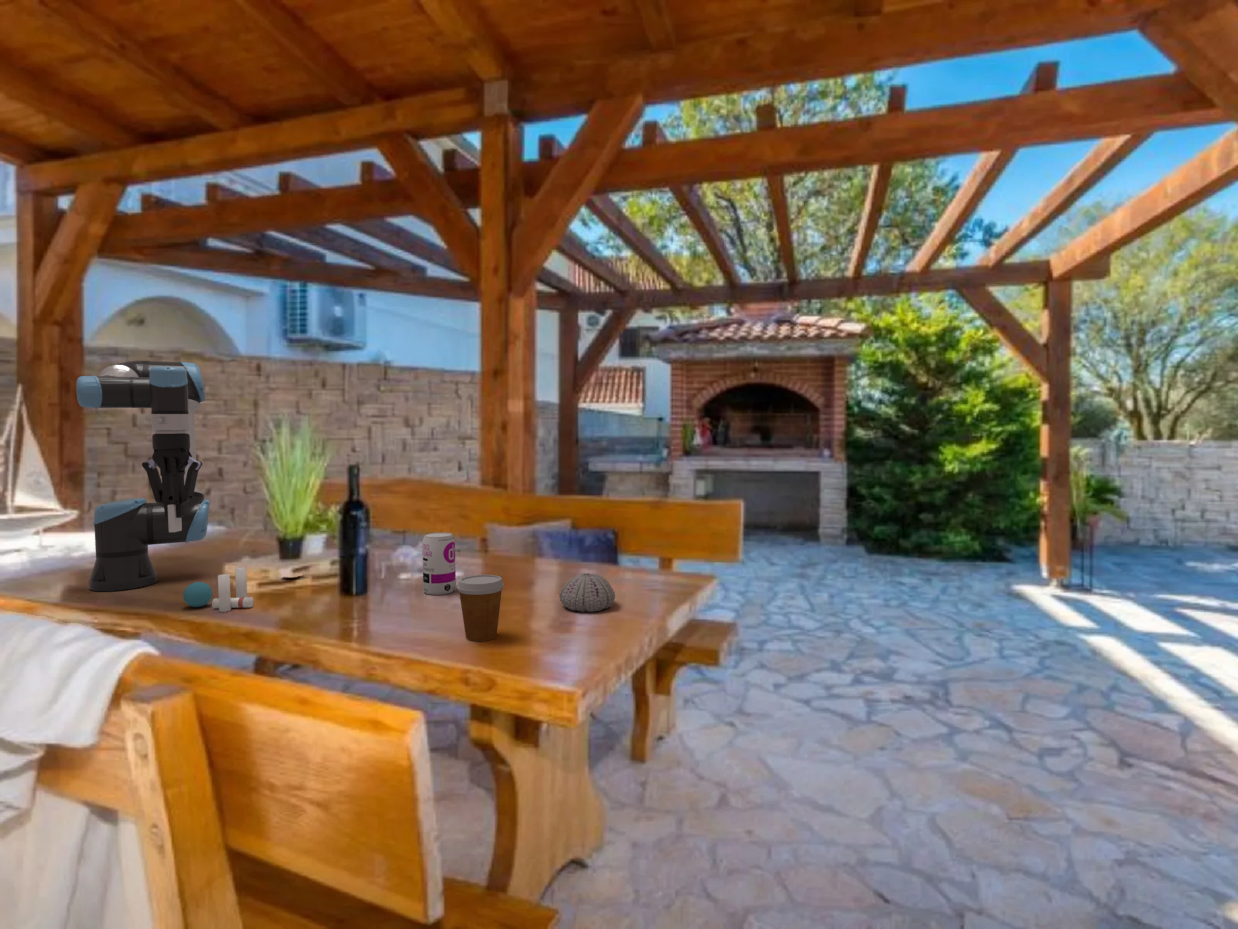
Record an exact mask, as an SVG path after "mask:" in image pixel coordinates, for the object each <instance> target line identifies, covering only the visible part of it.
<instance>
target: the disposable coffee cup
mask: <svg viewBox="0 0 1238 929" xmlns="http://www.w3.org/2000/svg"><path fill="white" fill-rule="evenodd" d="M504 586H505V584H504V582H503V578H502V577H501V576H499V575H494V574H475V575H469V576H468V575H467V576H464V577H461V578H460V579H458V584H456V589H457V591H458V592H459V599H460V606H461V612H462V613H461V614H462V620H463V627H464V634H465V638H466V639H467V640H468V641H471V642H485V641H492V640H493V639H495V638H496V637H497V636H498V629H499V628H498V627H499V618H500V609H501V601H502V600H501V599H502V591H503V589H504Z"/></svg>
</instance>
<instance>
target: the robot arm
mask: <svg viewBox="0 0 1238 929" xmlns="http://www.w3.org/2000/svg"><path fill="white" fill-rule="evenodd" d="M201 373H202V372H201V369H200V367H199V365H198V364H196V363H194V362H185V361H184V362H183V361H182V360H181V361H158V360H155V361H154V360H153V361H152V360H130V361H129V360H128V361H124V362H119V363H115V364H112V365H111V364H110V365H109V366H107V367H105V368H103V369H102V370H101V372H99V374H98V375H83V376H79V377H77V380H76V384H75V385H76V399H77V403H78V405H79V406H80V407H82V408H87V409H88V408H90V409H91V408H92V409H105V408H106V409H124V408H125V409H127V408H128V409H129V408H130V409H131V408H132V409H151V412H150V415H151V416H150V417H151V431H152V432H154V433H153V435H152V436H151V440H152V444H151V445H152V449H153V453H152V455H151V459H149V460H148V461H144V462H142V463H141V466H142V468H143V469H144V471H145V472H146V474H147V478H148V482H149V484H150V488H151V491H152V495H153V498H154V501H155V502H148V501H147V500H146V498H145V497H138V498H128V499H120V500H117V501H116V500H115V501H111V502H106V503H103V504H100V505H98V506H96V507H95V509H94V510H93V522H92V523H93V524H92V525H93V526H94V541H95V542H94V546H95V548H94V549H95V562H94V565H93V568H92V571H91V574H90V576H89V580H88V587H89V588H88V589H89V590H91V591H94V592H113V591H114V592H117V591H125V590H126V589H127V590H133V589H139V588H144V587H147V586H151V585H153V584H156V583H157V582H158V574H157V571H156V569H155V566H154V564H153V562H152V560H151V558H150V556H149V546H150V545H151V546H152V545H163V544H164V545H165V544H177V543H190V542H199V541H202V540H204V539H205V538H206V536H207V532H208V525H209V524H208V523H209V516H210V515H209V513H210V505H211V504H210V503H211V502H210V499H206V498H204V497H205V495H204V492H202V491H201V490H199V489H198V474H199V471H200V469H201V467H202V466H203V462H202V461H201V460H199V461H197V451H196V446H197V445H196V425H195V424H196V423H195V421H196V420H195V412H196V411H197V410H199V409H200V407H201V403H202V402H206V393H205V389H204V388H205V387H204V382H203V377H202V374H201ZM157 467H158V468H157ZM158 469H159V470H158ZM143 586H144V587H143ZM138 587H139V588H138Z"/></svg>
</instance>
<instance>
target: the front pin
mask: <svg viewBox="0 0 1238 929" xmlns="http://www.w3.org/2000/svg"><path fill="white" fill-rule="evenodd" d="M230 599H231V609H245V608H247V609H248V608H252V607H253V606H254V602H255V601H254V597H253V596H250V597H249V596H247V597H240V598H236V597H230ZM211 606H212V608H213V609H219V597H218V598H217V597H215V598H213V599H212V602H211Z"/></svg>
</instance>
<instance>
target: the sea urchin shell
mask: <svg viewBox="0 0 1238 929" xmlns="http://www.w3.org/2000/svg"><path fill="white" fill-rule="evenodd" d="M558 598H559V601H560V602H561V604H562V606H563V605H564V607H565V608H566V609H568V610H570V611H573V612H580V613H581V612H582V613H584V612H588V613H593V612H599V611H602V610H605V609H609V607H611V606H612V605H613V604H614V602H615V599H616V593H615V591H614V588H613V587H612V585H611V584H610V583H609V581H607V578H604V577H603V576H602V575H600V574H598V573H589V572H587V573H585V572H583V573H580V574H578V575H574V577H571V578H570V579H569V580H567V582H566V583H565V584H564V585H563V586H562V589H560V592H559V597H558Z"/></svg>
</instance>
